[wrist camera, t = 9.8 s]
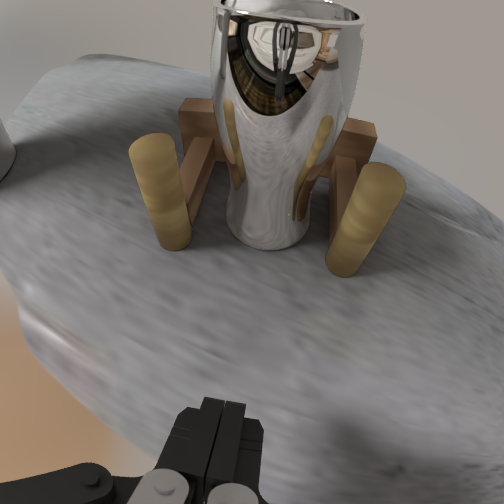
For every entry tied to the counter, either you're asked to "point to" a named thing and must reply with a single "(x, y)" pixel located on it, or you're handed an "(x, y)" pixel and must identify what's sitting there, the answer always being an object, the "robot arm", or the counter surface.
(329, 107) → the silver metal cup
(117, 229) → the counter surface
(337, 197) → the holder
